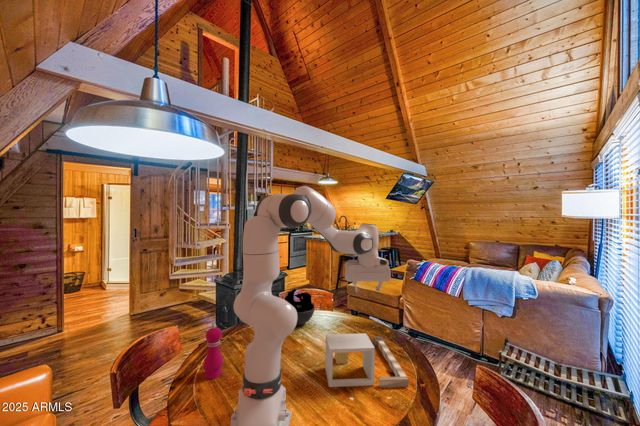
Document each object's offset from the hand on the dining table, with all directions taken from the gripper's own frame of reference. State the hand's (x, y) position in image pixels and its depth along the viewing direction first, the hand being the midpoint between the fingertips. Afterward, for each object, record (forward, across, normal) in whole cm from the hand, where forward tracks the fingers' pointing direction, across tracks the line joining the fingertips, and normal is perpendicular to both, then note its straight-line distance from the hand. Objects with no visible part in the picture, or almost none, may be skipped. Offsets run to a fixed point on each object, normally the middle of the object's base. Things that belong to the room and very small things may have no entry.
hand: (367, 291), depth 118 cm
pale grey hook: (+31, +7, 0) cm, 32 cm away
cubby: (+31, -10, -10) cm, 34 cm away
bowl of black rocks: (+31, -30, +42) cm, 60 cm away
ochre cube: (+31, -11, +1) cm, 33 cm away
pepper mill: (+31, -64, -6) cm, 71 cm away
